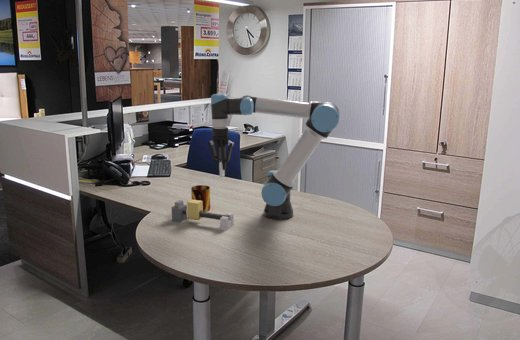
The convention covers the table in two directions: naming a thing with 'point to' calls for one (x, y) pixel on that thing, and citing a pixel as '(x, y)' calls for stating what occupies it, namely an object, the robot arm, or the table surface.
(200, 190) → the mug
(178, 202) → the block
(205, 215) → the dark grey rod
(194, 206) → the sleeve
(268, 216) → the robot arm
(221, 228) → the gray notched block
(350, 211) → the table surface
